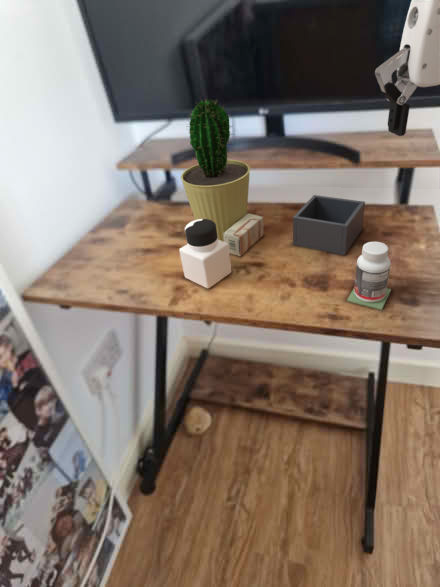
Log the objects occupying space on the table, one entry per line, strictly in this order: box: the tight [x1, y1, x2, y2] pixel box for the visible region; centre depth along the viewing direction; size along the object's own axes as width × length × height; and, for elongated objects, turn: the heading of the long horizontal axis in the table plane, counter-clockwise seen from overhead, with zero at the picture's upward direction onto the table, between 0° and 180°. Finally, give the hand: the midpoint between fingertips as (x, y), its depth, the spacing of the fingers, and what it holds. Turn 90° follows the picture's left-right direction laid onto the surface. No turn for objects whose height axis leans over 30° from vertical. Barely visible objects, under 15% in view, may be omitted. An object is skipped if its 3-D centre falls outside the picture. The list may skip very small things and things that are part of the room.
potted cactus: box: [180, 98, 251, 242], centre depth 89 cm, size 15×15×30 cm
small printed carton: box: [223, 212, 265, 257], centre depth 90 cm, size 5×4×10 cm
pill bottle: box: [353, 241, 392, 302], centre depth 69 cm, size 5×5×10 cm
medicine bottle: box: [178, 219, 232, 289], centre depth 80 cm, size 7×7×12 cm
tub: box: [292, 194, 366, 256], centre depth 88 cm, size 12×12×7 cm
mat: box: [346, 287, 392, 311], centre depth 72 cm, size 6×6×1 cm
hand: (428, 126), depth 56 cm, fingers open, 9 cm apart
